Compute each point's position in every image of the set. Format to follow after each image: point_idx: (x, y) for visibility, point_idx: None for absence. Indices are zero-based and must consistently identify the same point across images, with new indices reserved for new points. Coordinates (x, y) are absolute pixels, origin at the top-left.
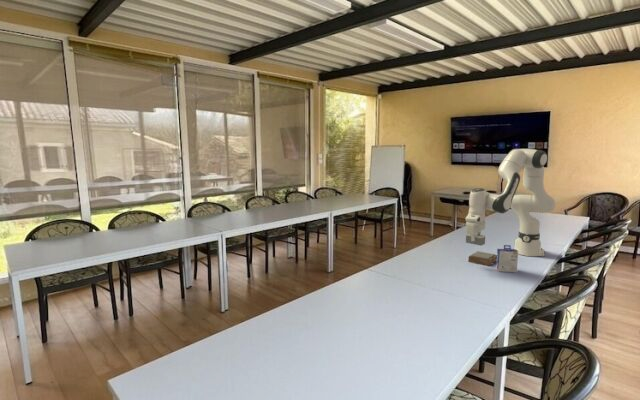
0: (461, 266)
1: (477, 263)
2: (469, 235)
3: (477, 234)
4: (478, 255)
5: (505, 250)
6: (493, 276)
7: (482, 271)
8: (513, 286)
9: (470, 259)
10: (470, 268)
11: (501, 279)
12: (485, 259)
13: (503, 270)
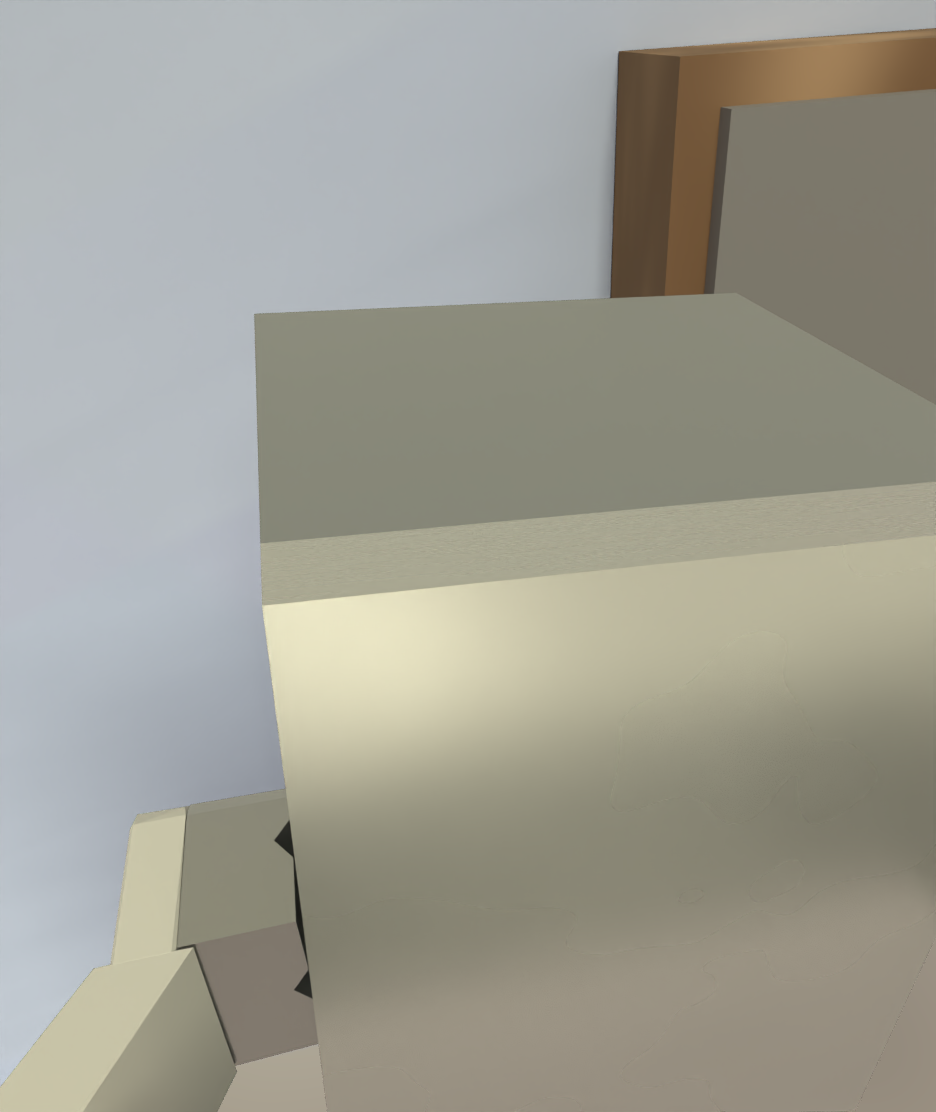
0: (126, 107)
1: (612, 283)
2: (297, 840)
3: (841, 1007)
4: (831, 262)
5: None
6: (135, 773)
7: (216, 571)
8: (3, 1036)
9: (643, 113)
10: (181, 339)
11: (115, 876)
12: None
13: None
